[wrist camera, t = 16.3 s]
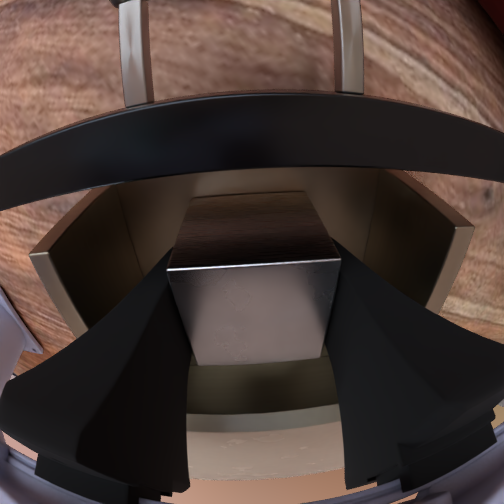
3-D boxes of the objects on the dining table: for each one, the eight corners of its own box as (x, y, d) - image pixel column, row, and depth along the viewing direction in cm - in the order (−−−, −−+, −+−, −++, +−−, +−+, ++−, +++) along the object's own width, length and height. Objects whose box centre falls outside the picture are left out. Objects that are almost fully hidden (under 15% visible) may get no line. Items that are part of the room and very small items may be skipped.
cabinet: (133, 295, 14) (95, 418, 8) (373, 280, 14) (428, 396, 8) (191, 408, 23) (187, 478, 17) (329, 399, 23) (343, 468, 17)
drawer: (76, 24, 6) (-33, 14, 1) (399, 6, 6) (507, -14, 1) (162, 357, 16) (149, 437, 12) (352, 344, 16) (376, 422, 12)
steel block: (205, 285, 11) (197, 367, 8) (190, 198, 9) (164, 269, 6) (300, 280, 12) (321, 358, 8) (306, 191, 9) (342, 258, 6)
